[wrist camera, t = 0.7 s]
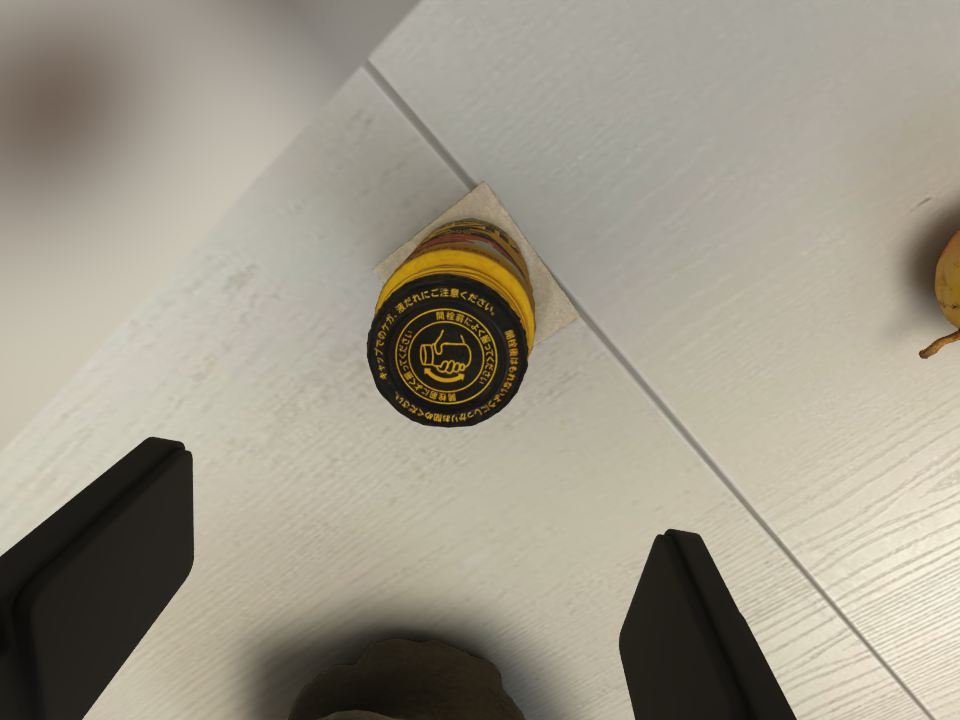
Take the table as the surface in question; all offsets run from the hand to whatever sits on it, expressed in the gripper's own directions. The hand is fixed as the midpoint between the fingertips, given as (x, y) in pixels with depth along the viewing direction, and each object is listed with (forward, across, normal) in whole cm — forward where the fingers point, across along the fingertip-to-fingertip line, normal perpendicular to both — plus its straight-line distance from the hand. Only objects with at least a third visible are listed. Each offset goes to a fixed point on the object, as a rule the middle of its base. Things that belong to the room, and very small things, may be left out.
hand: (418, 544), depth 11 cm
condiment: (+19, 0, 0) cm, 19 cm away
